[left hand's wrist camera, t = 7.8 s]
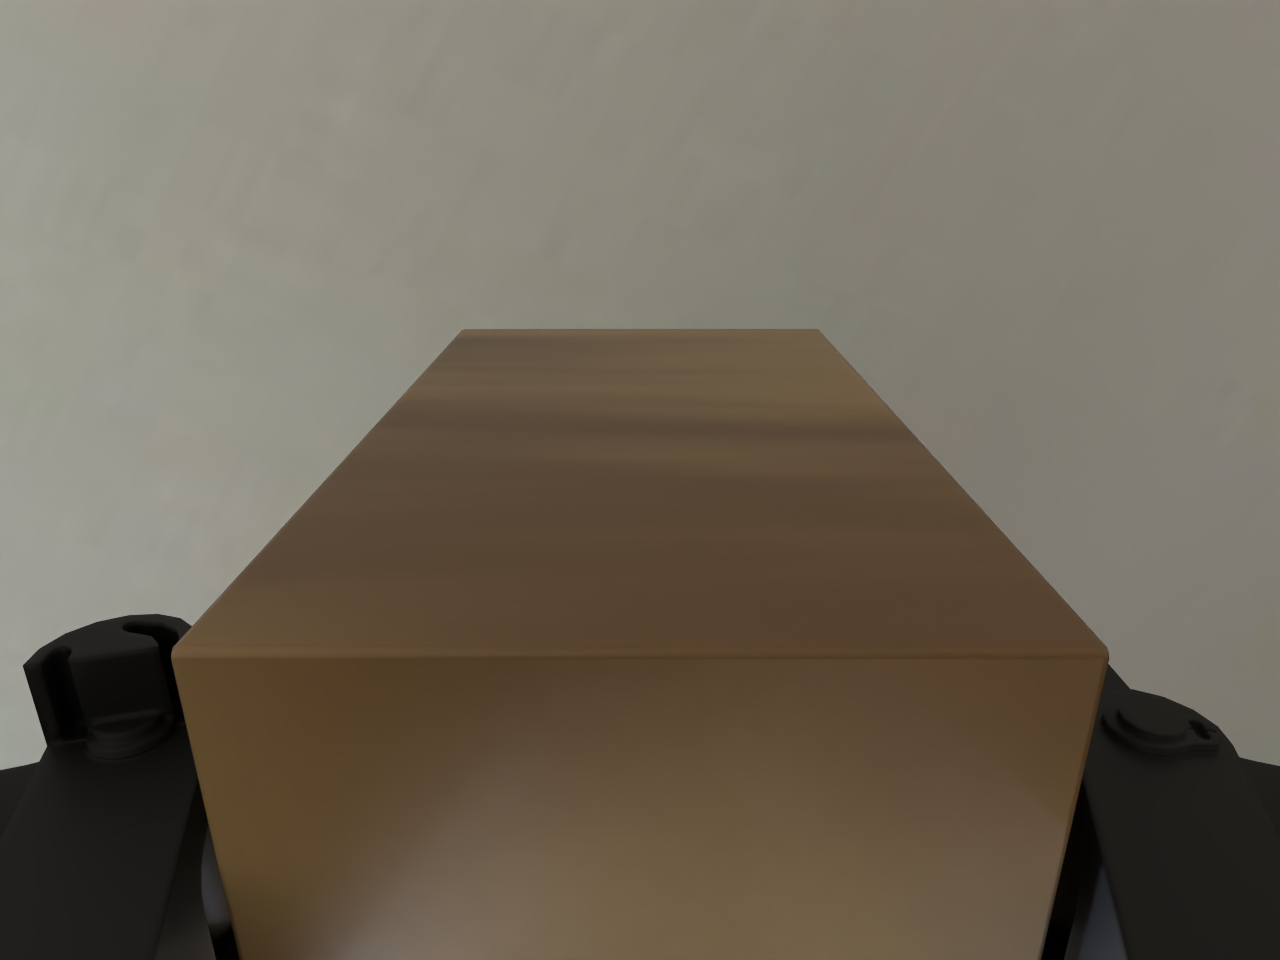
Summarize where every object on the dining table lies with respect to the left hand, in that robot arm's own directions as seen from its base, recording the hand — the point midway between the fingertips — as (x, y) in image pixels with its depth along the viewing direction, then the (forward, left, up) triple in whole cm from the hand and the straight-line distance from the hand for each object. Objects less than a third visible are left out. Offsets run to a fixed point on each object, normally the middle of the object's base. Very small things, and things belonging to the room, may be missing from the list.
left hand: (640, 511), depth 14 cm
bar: (+8, +4, -1) cm, 9 cm away
